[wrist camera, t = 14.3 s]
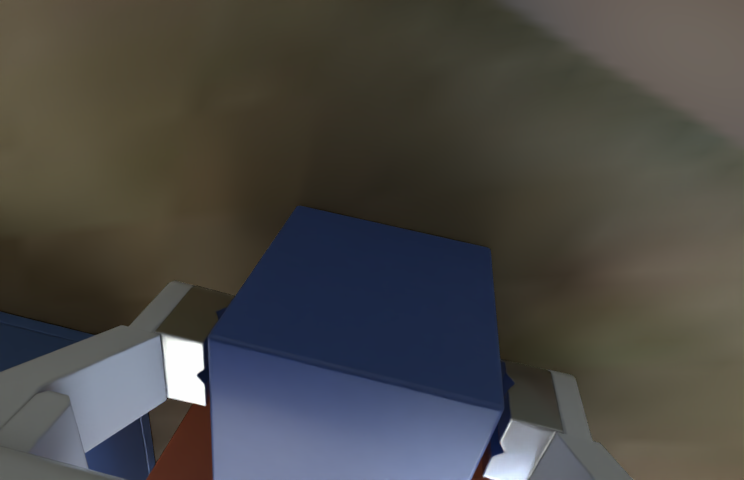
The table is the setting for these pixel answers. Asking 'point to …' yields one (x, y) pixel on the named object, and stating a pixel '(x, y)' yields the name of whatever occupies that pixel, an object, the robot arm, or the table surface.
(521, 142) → the table surface
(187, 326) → the robot arm
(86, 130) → the table surface
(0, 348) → the blue bin
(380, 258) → the blue block
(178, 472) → the red bin
